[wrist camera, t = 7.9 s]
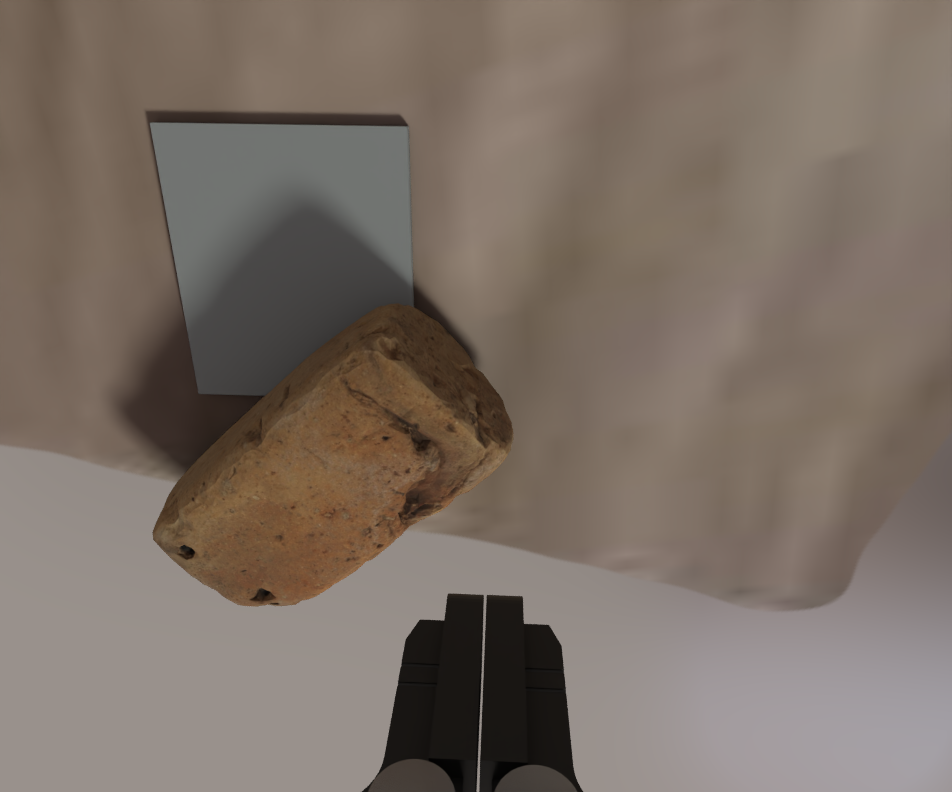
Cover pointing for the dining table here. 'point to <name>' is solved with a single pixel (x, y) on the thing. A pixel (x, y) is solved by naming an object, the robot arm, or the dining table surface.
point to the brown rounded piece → (336, 462)
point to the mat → (282, 239)
